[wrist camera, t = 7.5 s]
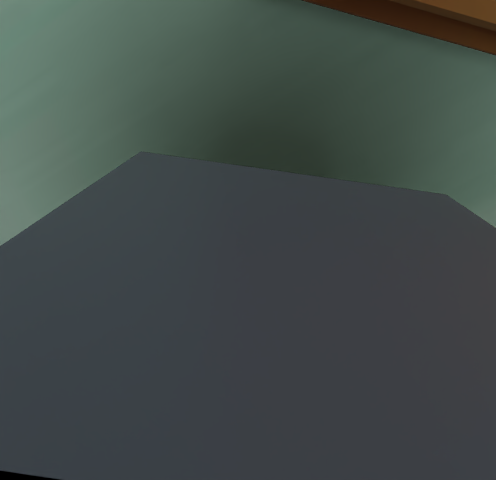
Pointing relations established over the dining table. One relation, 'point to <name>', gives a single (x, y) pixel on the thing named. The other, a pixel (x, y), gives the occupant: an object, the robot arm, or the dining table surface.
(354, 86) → the dining table surface
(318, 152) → the dining table surface
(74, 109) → the dining table surface
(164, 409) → the slate grey cube
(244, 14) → the dining table surface
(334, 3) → the diary
